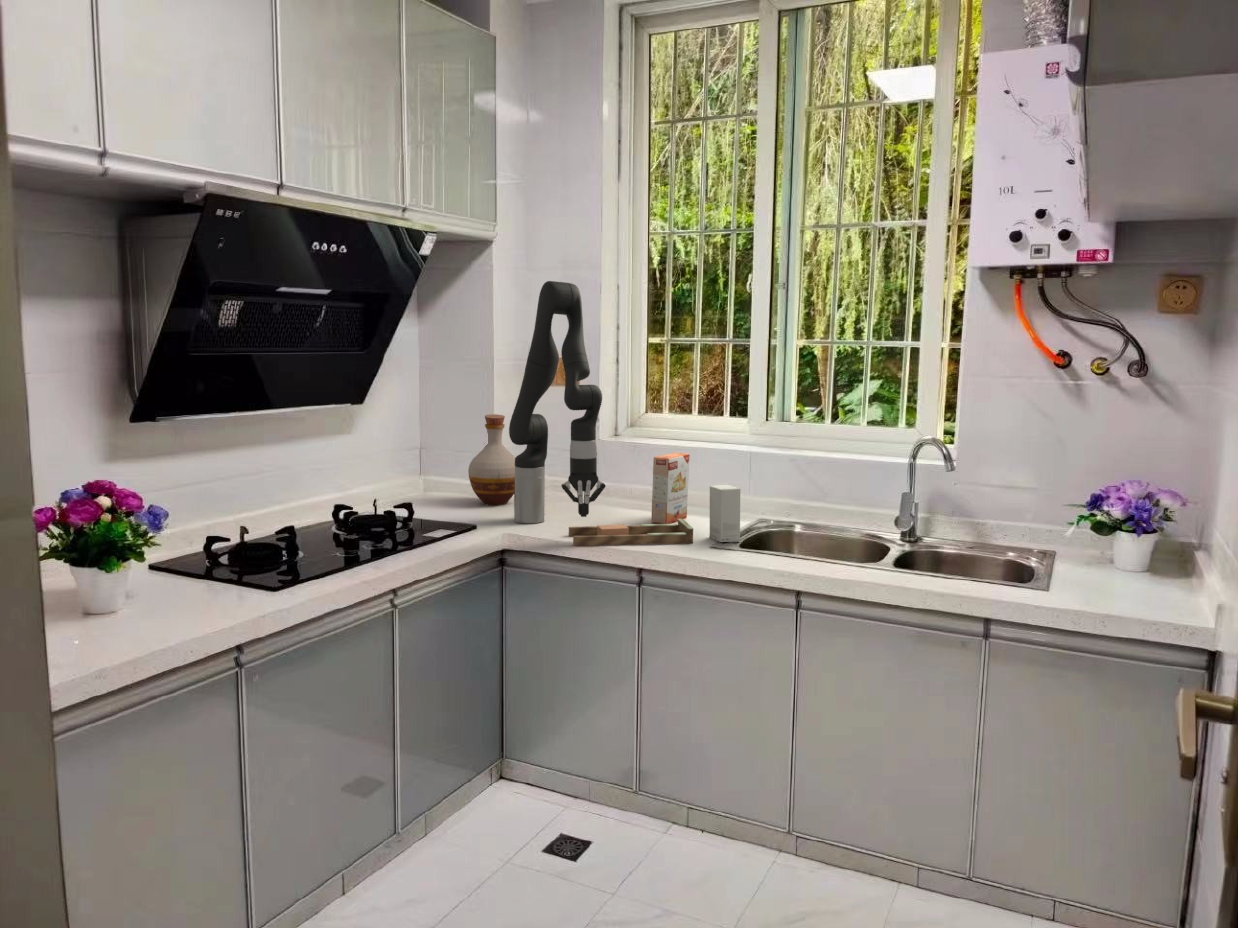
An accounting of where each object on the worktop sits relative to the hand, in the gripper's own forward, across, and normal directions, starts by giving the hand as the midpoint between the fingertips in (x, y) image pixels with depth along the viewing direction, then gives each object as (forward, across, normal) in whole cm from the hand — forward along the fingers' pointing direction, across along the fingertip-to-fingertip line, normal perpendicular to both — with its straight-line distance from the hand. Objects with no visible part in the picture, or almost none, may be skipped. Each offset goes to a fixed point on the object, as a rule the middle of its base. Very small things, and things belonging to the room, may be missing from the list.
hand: (583, 516), depth 263 cm
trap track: (+7, -14, 0) cm, 15 cm away
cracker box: (+7, -31, -24) cm, 40 cm away
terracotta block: (+7, -8, 0) cm, 11 cm away
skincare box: (+8, -40, +3) cm, 41 cm away
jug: (+6, +23, -58) cm, 62 cm away
